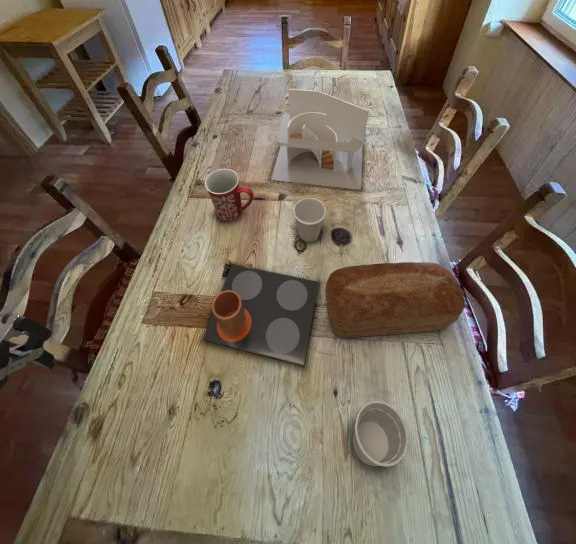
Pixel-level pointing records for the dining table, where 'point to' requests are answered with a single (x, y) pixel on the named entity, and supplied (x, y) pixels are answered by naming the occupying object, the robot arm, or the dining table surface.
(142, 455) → the dining table surface
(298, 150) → the architectural model
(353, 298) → the bread
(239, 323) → the cup
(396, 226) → the dining table surface
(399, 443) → the cup
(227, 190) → the mug
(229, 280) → the stove
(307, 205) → the dixie cup
